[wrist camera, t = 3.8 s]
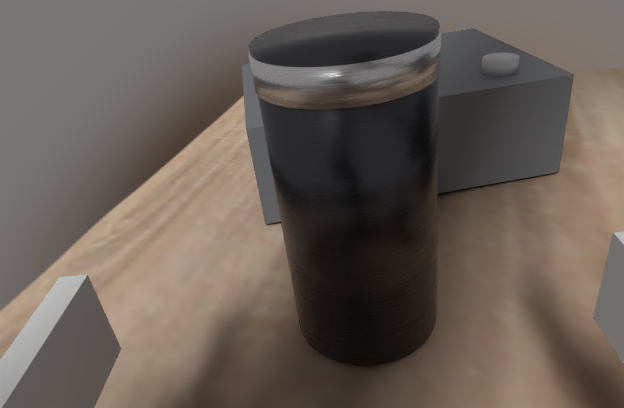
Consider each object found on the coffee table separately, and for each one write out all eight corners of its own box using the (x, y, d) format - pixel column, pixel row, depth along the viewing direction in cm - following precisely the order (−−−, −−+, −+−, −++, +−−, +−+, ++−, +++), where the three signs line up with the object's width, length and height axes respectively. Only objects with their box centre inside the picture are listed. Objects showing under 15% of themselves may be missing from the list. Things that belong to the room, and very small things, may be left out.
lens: (411, 257, 25) (406, 3, 19) (460, 349, 19) (474, 37, 13) (291, 280, 24) (245, 28, 18) (307, 379, 19) (250, 73, 13)
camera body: (470, 103, 41) (475, -7, 37) (558, 172, 30) (581, 27, 26) (255, 138, 40) (234, 30, 36) (265, 224, 29) (236, 82, 25)
